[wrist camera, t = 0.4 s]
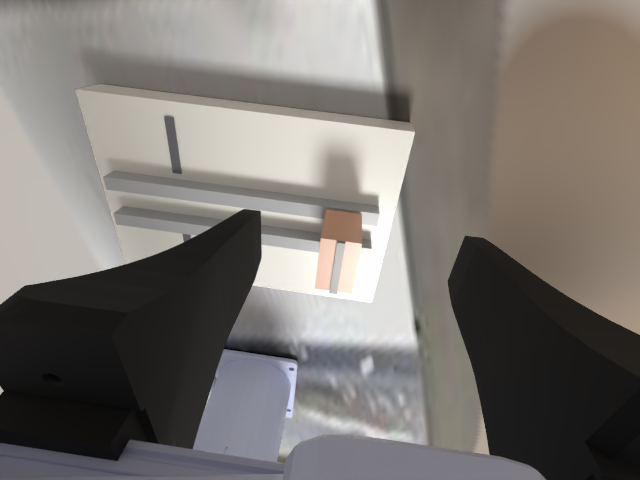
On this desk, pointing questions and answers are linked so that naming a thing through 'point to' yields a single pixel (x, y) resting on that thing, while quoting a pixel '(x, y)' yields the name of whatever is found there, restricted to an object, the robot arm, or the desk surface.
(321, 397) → the desk surface
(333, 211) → the fader
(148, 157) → the white slider track board
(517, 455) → the robot arm
